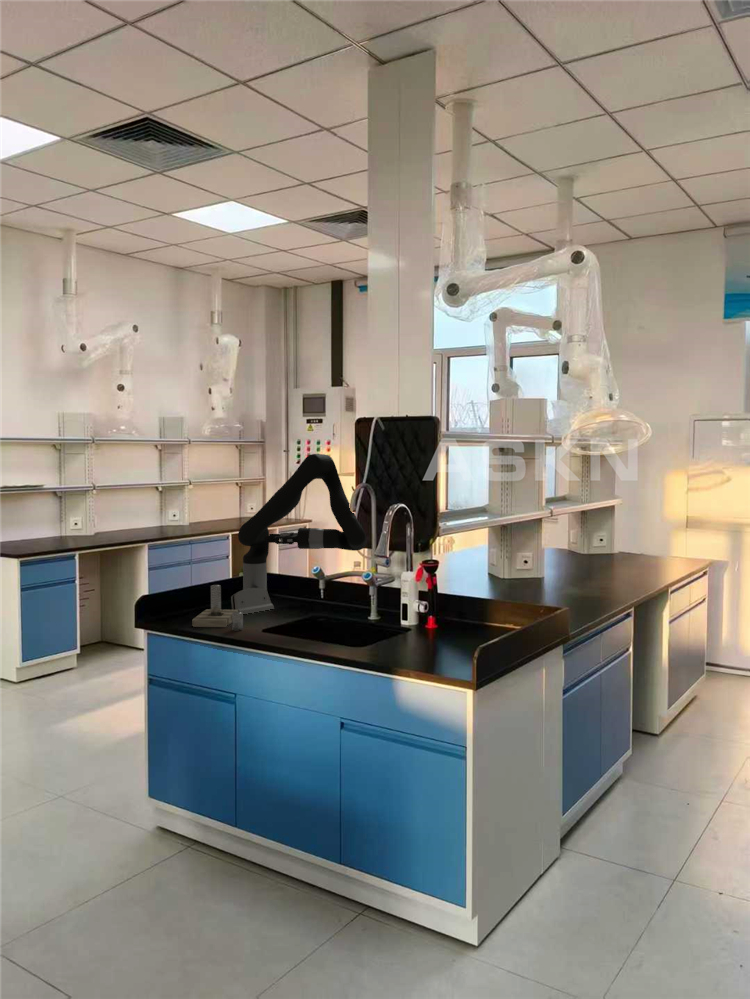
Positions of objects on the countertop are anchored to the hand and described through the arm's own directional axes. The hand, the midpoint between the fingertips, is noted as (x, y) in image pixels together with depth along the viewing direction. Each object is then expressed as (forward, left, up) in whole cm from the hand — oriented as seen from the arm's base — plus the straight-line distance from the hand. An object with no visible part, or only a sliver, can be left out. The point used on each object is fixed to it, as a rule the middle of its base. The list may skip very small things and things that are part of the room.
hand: (267, 538), depth 285 cm
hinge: (-15, -9, -30) cm, 35 cm away
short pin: (+17, -7, -30) cm, 35 cm away
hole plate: (+4, -18, -30) cm, 35 cm away
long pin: (+4, -18, -30) cm, 35 cm away
